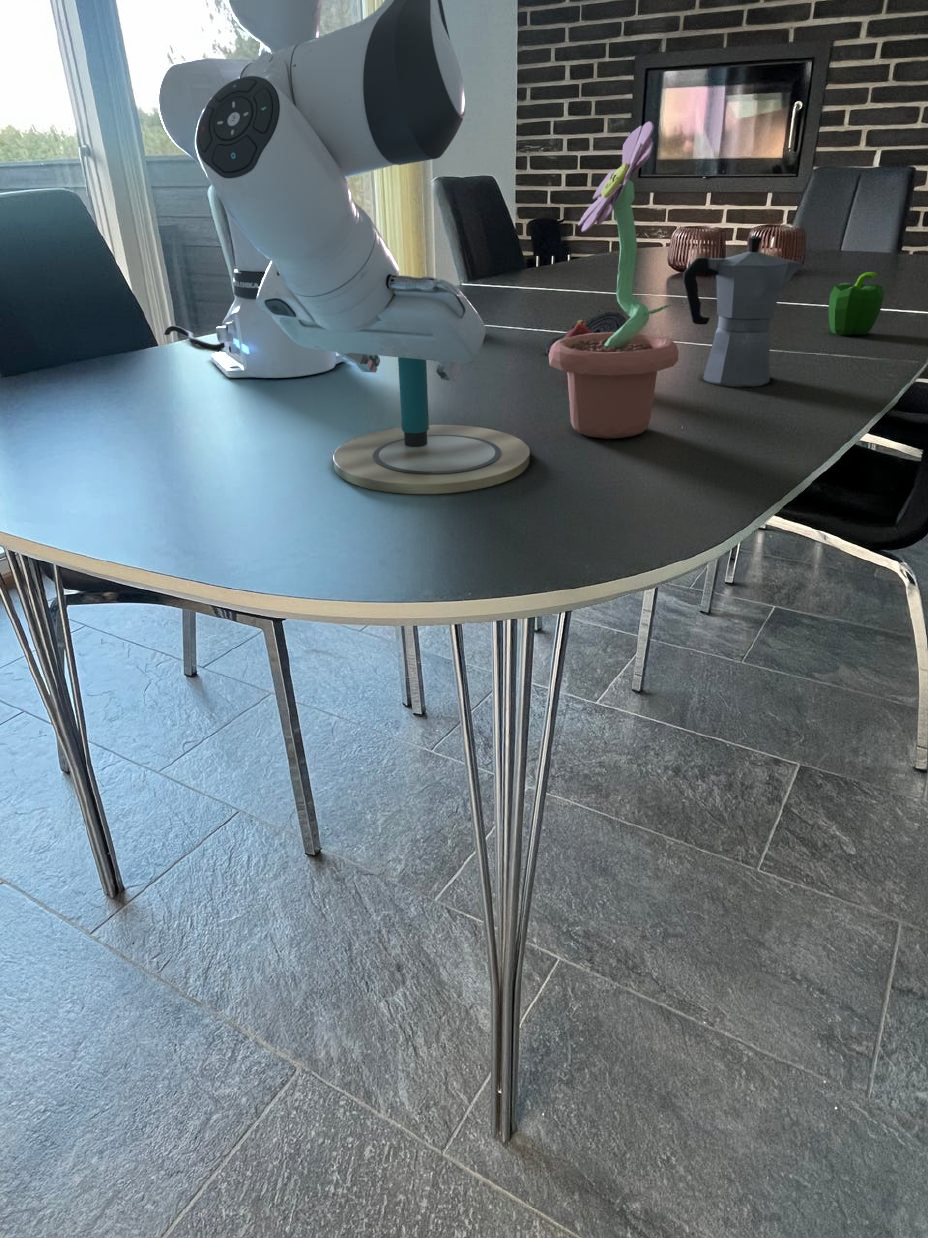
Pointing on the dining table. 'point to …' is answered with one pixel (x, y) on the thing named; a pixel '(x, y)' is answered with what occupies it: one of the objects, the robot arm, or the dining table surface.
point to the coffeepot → (740, 312)
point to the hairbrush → (597, 325)
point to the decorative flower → (623, 360)
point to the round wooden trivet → (432, 460)
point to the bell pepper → (855, 306)
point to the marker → (413, 401)
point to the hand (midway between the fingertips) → (411, 370)
